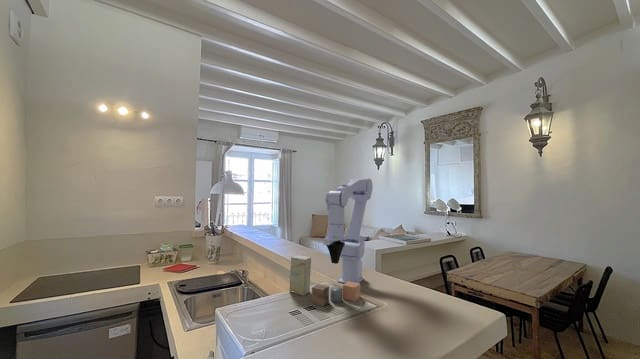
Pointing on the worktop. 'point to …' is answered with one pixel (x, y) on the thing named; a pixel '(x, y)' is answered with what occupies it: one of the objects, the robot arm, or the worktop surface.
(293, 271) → the skincare box
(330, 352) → the worktop surface
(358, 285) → the terracotta cube
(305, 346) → the worktop surface
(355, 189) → the robot arm
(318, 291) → the walnut block
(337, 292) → the blue-grey short cylinder
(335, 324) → the worktop surface
